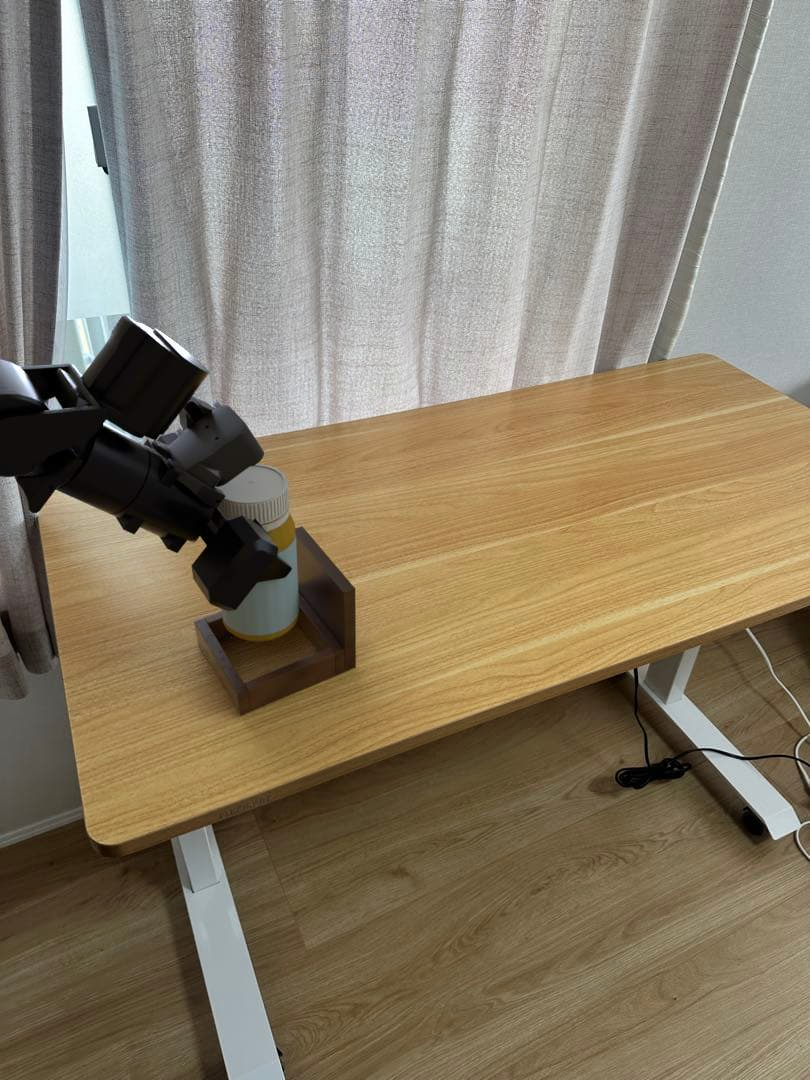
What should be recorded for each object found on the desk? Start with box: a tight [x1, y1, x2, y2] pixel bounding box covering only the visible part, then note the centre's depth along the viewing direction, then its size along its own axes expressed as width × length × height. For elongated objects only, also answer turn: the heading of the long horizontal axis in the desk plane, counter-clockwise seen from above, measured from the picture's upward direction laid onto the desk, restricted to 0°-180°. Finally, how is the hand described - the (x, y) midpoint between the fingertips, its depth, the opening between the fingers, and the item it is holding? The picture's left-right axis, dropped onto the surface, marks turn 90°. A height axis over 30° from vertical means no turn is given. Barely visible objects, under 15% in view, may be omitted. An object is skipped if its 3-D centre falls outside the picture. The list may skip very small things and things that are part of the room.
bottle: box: [216, 463, 299, 643], centre depth 70 cm, size 7×7×15 cm
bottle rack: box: [193, 525, 357, 717], centre depth 75 cm, size 12×11×10 cm
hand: (270, 550), depth 71 cm, fingers closed on bottle, 7 cm apart
